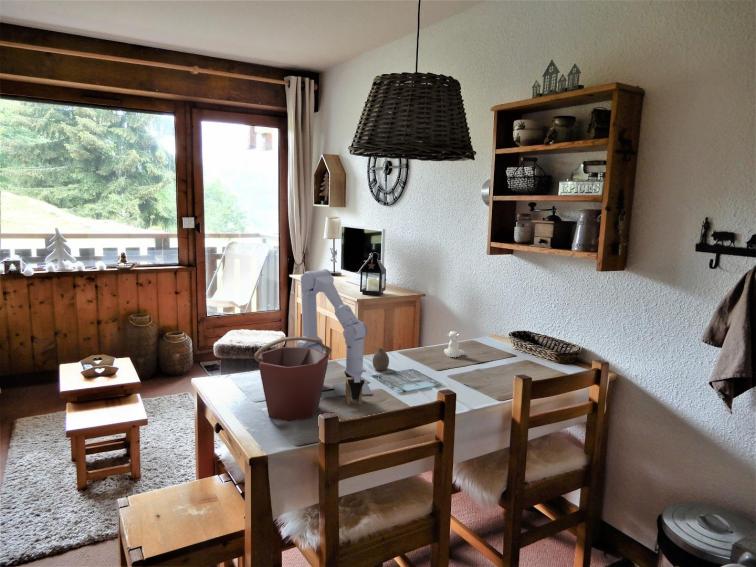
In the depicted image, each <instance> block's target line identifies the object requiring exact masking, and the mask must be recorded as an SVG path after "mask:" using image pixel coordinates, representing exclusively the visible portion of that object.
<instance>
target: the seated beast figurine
mask: <svg viewBox="0 0 756 567" xmlns="http://www.w3.org/2000/svg"><path fill="white" fill-rule="evenodd" d="M459 336H460V333H458V332H457V331H456V330H451V331H450V332H449V333H446V337H447V338H448V339H449V343H448V346H447V348H444V350H443V353H445V356H446V357H448V356H449V357H448V358H450V357H453V358H452V359H457V358H456V357H458V358H459V356H460V357H462V356H463V355H464V354H465V352H466V351H464V350H463V349H460V345H459V341H458V339H459ZM461 355H462V356H461ZM454 357H455V358H454Z"/></svg>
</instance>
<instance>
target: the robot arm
mask: <svg viewBox="0 0 756 567" xmlns="http://www.w3.org/2000/svg"><path fill="white" fill-rule="evenodd" d="M334 281H335V277H334V276H333V275H332V272H331V271H330V270H329V269H327V268H326V269H320V270H306V271H304V273H303V274H302V275H301V276H300V290H301V291H300V292H301V293H300V295H301V298H300V299H301V319H302V321H301V322H302V324H301V325H302V337H308V338H315V339H320V341H321V342H322V343H323V339H322V338H320V337H319V336H318V313H317V295H318V294H319V293H323V294H324V295H325V296H326V298H327V300H328V301H329V302H330V304H331V305H332V306H333V307H334V316H335V318H336V319H337V320H338V322H339V323H340V325H341V327H342V329H343V331H342V334H343V338H344V340H345V342H344V344H345V345H346V352H345V353H346V356H345V357H346V358H345V360H346V361H345V371H344V372H343V373H344V375H345V378H348V377H353V379H348V380H347V381H348V383H349V385H350V389H351V396H350V397H351V399H352V400H353V401H356V400H357V401H359V400H358V399H359V396H360V391H361V388H362V386H363V385H364V383H366V382H365V380H364V379H361V380H360V378H362V375H363V373H366V372H367V369H366V368H364V367H363V366H364V365H363V364H364V338H366V337H367V335H368V328H367V326H366V324H365V322H363V321H361V320H360V319H358V318H357V317H356V315H355V313H354V312H353V310H352V307H351V306H350V305H349V304H345V303H344V302H343V299H342V297H341V296H340V294H339V292H338V290H337V288H336V285H335V284H334ZM323 344H324V343H323ZM296 347H304V348H313V349H315V350H318V351H320V352H323V351H324V348H322V347H321V346H320V345H319V343H315V342H310V341H302V340H297V343H296Z"/></svg>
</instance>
